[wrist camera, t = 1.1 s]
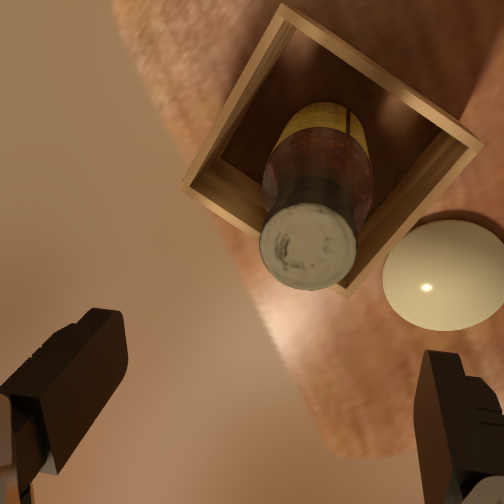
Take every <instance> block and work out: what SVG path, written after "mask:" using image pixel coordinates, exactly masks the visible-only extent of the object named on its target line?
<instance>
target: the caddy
mask: <svg viewBox="0 0 504 504" xmlns="http://www.w3.org/2000/svg"><path fill="white" fill-rule="evenodd" d="M296 28H298V29H299V30H300V31H302V32H303V33H305V34H306V35H308V36H309V37H311V38H312V39H313V40H315V41H316V42H318V43H319V44H321V45H322V46H323V47H325V48H326V49H328V50H329V51H331V52H332V53H334V54H335V55H336V56H338V57H339V58H341V59H342V60H344V61H345V62H347V63H348V64H349V65H351V66H352V67H354V68H355V69H357V70H358V71H359V72H361V73H362V74H364V75H365V76H367V77H368V78H370V79H371V80H372V81H374V82H375V83H377V84H378V85H380V86H381V87H382V88H384V89H385V90H387V91H388V92H390V93H391V94H393V95H394V96H395V97H397V98H398V99H400V100H401V101H403V102H404V103H406V104H407V105H408V106H410V107H411V108H413V109H414V110H416V111H417V112H418V113H420V114H421V115H423V116H424V117H426V118H427V119H429V120H430V121H431V122H433V123H434V124H436V125H437V126H439V127H440V128H442V130H441V131H440V132H439V133H438V135H437V136H436V137H435V138H434V140H433V141H432V142H431V143H430V144H429V146H428V147H427V148H426V149H425V151H424V152H423V153H422V154H421V155H420V157H419V158H418V159H417V160H416V162H415V163H414V164H413V165H412V166H411V168H410V169H409V170H408V171H407V173H406V174H405V175H404V176H403V177H402V179H401V180H400V181H399V182H398V184H397V185H396V186H395V187H394V188H393V190H392V191H391V192H390V193H389V195H388V196H387V197H386V198H385V199H384V201H383V202H382V203H381V204H380V205H379V207H378V208H377V209H376V210H375V212H374V213H373V214H372V215H371V216H370V218H369V219H368V220H367V221H366V223H365V224H364V225H363V226H362V227H361V229H360V230H359V231H358V232H357V234H358V248H357V255H356V259H355V262H354V265H353V267H352V268H351V270H350V271H349V273H348V274H347V275H346V276H345V277H344V278H343V279H341V280H340V281H339V282H337V283H336V284H334V285H332V286H329V287H328V288H330V289H332V290H333V291H335V292H336V293H338V294H339V295H341V296H342V297H344V298H345V299H347V300H348V299H349V298H350V297H351V296H352V295H353V294H354V292H355V291H356V290H357V289H358V288H359V287H360V286H361V285H362V283H363V282H364V281H365V280H366V279H367V278H368V277H369V276H370V274H371V273H372V272H373V271H374V270H375V269H376V268H377V266H378V265H379V264H380V263H381V262H382V261H383V260H384V259H385V257H386V256H387V255H388V254H389V253H390V252H391V251H392V249H393V248H394V247H395V246H396V245H397V244H398V243H399V242H400V240H401V239H402V238H403V237H404V236H405V235H406V234H407V233H408V231H409V230H410V229H411V228H412V227H413V226H414V225H415V223H416V222H417V221H418V220H419V219H420V218H421V217H422V216H423V214H424V213H425V212H426V211H427V210H428V209H429V208H430V207H431V205H432V204H433V203H434V202H435V201H436V200H437V199H438V197H439V196H440V195H441V194H442V193H443V192H444V191H445V190H446V188H447V187H448V186H449V185H450V184H451V183H452V182H453V180H454V179H455V178H456V177H457V176H458V175H459V174H460V173H461V171H462V170H463V169H464V168H465V167H466V166H467V165H468V164H469V162H470V161H471V160H472V159H473V158H474V157H475V156H476V154H477V153H478V152H479V151H480V150H481V149H482V148H483V147H484V145H485V144H484V143H483V142H481V141H480V140H479V139H478V138H477V137H476V136H475V135H474V134H473V133H472V132H471V131H469V130H468V129H467V128H466V127H465V126H464V125H463V124H462V123H461V122H460V121H458V120H457V119H456V118H454V117H453V116H451V115H450V114H448V113H447V112H445V111H444V110H443V109H441V108H440V107H438V106H437V105H435V104H434V103H433V102H431V101H430V100H428V99H427V98H425V97H424V96H423V95H421V94H420V93H418V92H417V91H415V90H414V89H413V88H411V87H410V86H408V85H407V84H405V83H404V82H403V81H401V80H400V79H398V78H397V77H395V76H394V75H392V74H391V73H390V72H388V71H387V70H385V69H384V68H382V67H381V66H380V65H378V64H377V63H375V62H374V61H372V60H371V59H370V58H368V57H367V56H365V55H364V54H362V53H361V52H360V51H358V50H357V49H355V48H354V47H352V46H351V45H349V44H348V43H347V42H345V41H344V40H342V39H341V38H339V37H338V36H337V35H335V34H334V33H332V32H331V31H329V30H328V29H327V28H325V27H324V26H322V25H321V24H319V23H318V22H317V21H315V20H314V19H312V18H311V17H309V16H308V15H307V14H305V13H304V12H302V11H301V10H299V9H298V8H295V7H292V6H289V5H286V4H284V3H281V4H280V6H279V7H278V9H277V11H276V13H275V15H274V16H273V18H272V20H271V22H270V24H269V25H268V27H267V29H266V31H265V33H264V34H263V36H262V38H261V40H260V42H259V43H258V45H257V47H256V49H255V51H254V52H253V54H252V56H251V58H250V60H249V61H248V63H247V65H246V67H245V69H244V70H243V72H242V74H241V76H240V77H239V79H238V81H237V83H236V85H235V86H234V88H233V90H232V92H231V94H230V95H229V97H228V99H227V101H226V103H225V104H224V106H223V108H222V110H221V112H220V113H219V115H218V117H217V119H216V121H215V122H214V124H213V126H212V128H211V130H210V131H209V133H208V135H207V137H206V139H205V140H204V142H203V144H202V146H201V148H200V149H199V151H198V153H197V155H196V157H195V158H194V160H193V162H192V164H191V166H190V167H189V169H188V171H187V173H186V174H185V177H184V178H183V180H182V182H181V183H180V185H179V187H178V189H179V190H181V191H182V192H184V193H185V194H187V195H188V196H190V197H191V198H193V199H195V200H196V201H197V202H199V203H200V204H202V205H204V206H205V207H207V208H208V209H210V210H211V211H213V212H214V213H216V214H217V215H219V216H220V217H222V218H223V219H225V220H226V221H228V222H229V223H231V224H232V225H234V226H236V227H237V228H239V229H240V230H242V231H243V232H245V233H246V234H248V235H249V236H251V237H252V238H254V239H255V240H257V241H258V242H259V238H260V234H261V229H262V225H263V222H264V219H265V218H266V216H267V215H268V211H267V209H266V206H265V203H264V198H263V189H262V185H260V184H259V183H257V182H256V181H254V180H253V179H251V178H250V177H248V176H247V175H245V174H244V173H242V172H241V171H239V170H238V169H236V168H235V167H233V166H231V165H230V164H228V163H227V162H225V161H224V160H222V159H221V156H222V154H223V153H224V151H225V149H226V148H227V146H228V144H229V143H230V141H231V139H232V137H233V136H234V134H235V132H236V131H237V129H238V127H239V125H240V124H241V122H242V120H243V119H244V117H245V115H246V114H247V112H248V110H249V108H250V107H251V105H252V103H253V102H254V100H255V98H256V97H257V95H258V93H259V91H260V90H261V88H262V86H263V85H264V83H265V81H266V79H267V78H268V76H269V74H270V73H271V71H272V69H273V68H274V66H275V64H276V62H277V61H278V59H279V57H280V56H281V54H282V52H283V51H284V49H285V47H286V45H287V44H288V42H289V40H290V39H291V37H292V35H293V33H294V32H295V30H296Z"/></svg>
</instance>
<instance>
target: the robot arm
mask: <svg viewBox="0 0 504 504" xmlns="http://www.w3.org/2000/svg"><path fill="white" fill-rule="evenodd" d="M127 365H128V352H127V344H126V336H125V328H124V321H123V316H122V313H121V312H120V311H116V310H107V309H100V308H91V309H90V310H89V311H88V312H87V313H86V314H85V315H84V316H83V317H82V318H81V319H80V320H79V321H78V322H77V323H76V324H75V323H71V324H69V325H68V326H66V327H64V328H62V329H60V330H58V331H57V332H55V333H54V334H53V335H52V336H51V337H50V338H49V339H48V340H47V341H45V342H44V344H42V347H41V348H38V349H37V350H36V352H34V353H33V354H32V357H31V358H30V357H29V358H28V359H27V360H26V361H25V362H24V363H23V364H22V365H21V367H19V368H18V369H17V370H16V371H15V372H14V373H13V374H12V375H11V376H10V377H9V378H8V379H7V380H6V381H5V382H4V383H3V384H2V385H1V386H0V504H35V503H34V490H33V485H32V481H33V479H34V478H35V477H36V475H37V474H38V472H42V473H47V474H52V475H58V474H59V472H60V471H61V469H62V468H63V467H64V465H65V464H66V462H67V461H68V459H69V458H70V456H71V454H72V453H73V452H74V450H75V449H76V447H77V446H78V444H79V443H80V441H81V440H82V439H83V437H84V436H85V434H86V433H87V431H88V430H89V428H90V427H91V425H92V424H93V422H94V421H95V419H96V418H97V416H98V415H99V413H100V412H101V410H102V409H103V408H104V406H105V405H106V403H107V402H108V400H109V399H110V397H111V396H112V394H113V393H114V391H115V390H116V388H117V387H118V386H119V384H120V383H121V381H122V380H123V378H124V375H125V373H126V370H127ZM413 417H414V429H415V436H416V443H417V451H418V458H419V465H420V472H421V479H422V486H423V494H424V501H425V504H504V415H502V409H501V407H500V404H499V401H498V399H497V396H496V394H495V393H494V391H493V390H492V389H491V388H490V387H489V386H488V385H487V384H486V383H485V382H484V381H483V380H482V378H480V377H472V376H465V372H464V369H463V366H462V363H461V359H460V356H459V354H457V353H450V352H442V351H433V350H425V352H424V355H423V359H422V364H421V369H420V374H419V379H418V384H417V389H416V394H415V400H414V413H413Z"/></svg>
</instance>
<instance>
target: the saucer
mask: <svg viewBox="0 0 504 504" xmlns="http://www.w3.org/2000/svg"><path fill="white" fill-rule="evenodd" d="M382 279H383V288H384V292H385V295H386V297H387V300H388V301H389V303H390V305H391V306H392V308H393V309H394V310H395V311H396V312H397V313H398V314H399V315H400V316H401V317H403V318H404V319H405V320H407V321H409V322H410V323H412V324H414V325H417V326H419V327H422V328H426V329H431V330H438V331H452V330H459V329H463V328H467V327H470V326H473V325H476V324H478V323H480V322H482V321H484V320H485V319H487V318H488V317H490V316H491V315H492V314H494V313H495V312H496V311H497V310H498V309H499V308H500V307H501V306H502V304H503V303H504V244H503V243H502V242H501V240H500V239H499V238H498V237H497V236H496V235H495V234H493V233H492V232H491V231H489V230H488V229H486V228H484V227H483V226H481V225H478V224H476V223H473V222H469V221H465V220H458V219H444V220H436V221H432V222H428V223H425V224H422V225H420V226H418V227H416V228H414V229H412V230H410V231H409V232H408V233H407V234H406V235H405V236H404V237H403V238H402V239H401V240H400V242H399V243H398V244H397V245H396V246H395V247H394V248H393V249H392V251H391V252H390V253H389V254H388V255H387V257H386V260H385V262H384V266H383V273H382Z"/></svg>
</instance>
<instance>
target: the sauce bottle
mask: <svg viewBox="0 0 504 504" xmlns="http://www.w3.org/2000/svg"><path fill="white" fill-rule="evenodd" d="M262 189H263V198H264V203H265V206H266V209H267V211H268V215H267V216H266V218H265V219H264V222H263V225H262V229H261V234H260V238H259V247H260V253H261V257H262V260H263V263H264V264H265V266H266V268H267V269H268V271H269V272H270V273H271V274H272V275H273V276H274V277H275V278H276V279H277V280H278V281H279V282H281V283H283V284H284V285H286V286H288V287H291V288H294V289H300V290H309V291H314V290H319V289H323V288H327V287H329V286H332V285H334V284H336V283H337V282H339V281H340V280H341V279H343V278H344V277H345V276H346V275H347V274H348V273H349V271H350V270H351V268H352V267H353V265H354V262H355V259H356V255H357V248H358V234H357V231H359V230H360V228H361V227H362V226H363V224H364V221H365V219H366V216H367V214H368V211H369V209H370V206H371V203H372V198H373V182H372V167H371V163H370V158H369V153H368V148H367V143H366V138H365V133H364V130H363V127H362V125H361V123H360V122H359V120H358V118H357V117H356V116H355V115H354V114H353V113H352V112H350V111H349V109H348V108H347V107H345V106H343V105H340V104H337V103H332V102H318V103H316V102H315V103H312V104H309V105H307V106H306V107H305V108H303V109H301V110H300V111H298V112H297V113H296V114H294V116H293V117H292V118H291V119H290V120H289V121H288V123H287V124H286V126H285V128H284V130H283V132H282V134H281V136H280V138H279V140H278V142H277V144H276V145H275V147H274V149H273V151H272V153H271V155H270V157H269V159H268V162H267V164H266V167H265V171H264V176H263V184H262Z"/></svg>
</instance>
